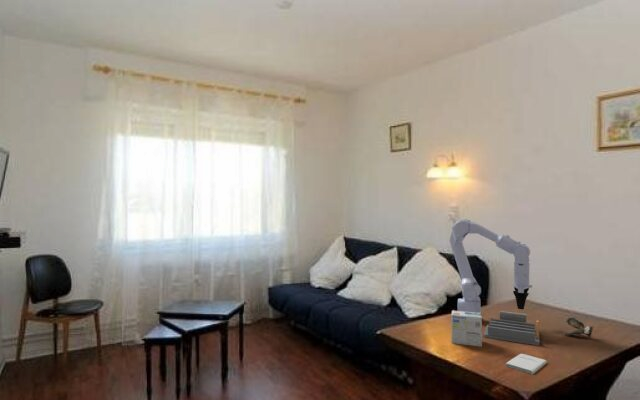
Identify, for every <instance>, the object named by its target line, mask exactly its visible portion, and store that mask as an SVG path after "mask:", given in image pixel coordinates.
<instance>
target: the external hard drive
mask: <svg viewBox="0 0 640 400" xmlns="http://www.w3.org/2000/svg"><path fill="white" fill-rule="evenodd" d="M546 364H547V360H546V359H544V358H539V357H535V356H533V355H529V354H525V353H519V354H517V355H516V356H515V357H513V358H512V359H509V361H507V362H506V363H505V365H504V366H505V367H507V368H511V369H513V370H517V371H521V372H523V373H527V374H530V375H534V374H536V373H537V372H538V371H539V370H540V369H541V368H543V367H545V366H546Z"/></svg>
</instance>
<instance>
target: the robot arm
mask: <svg viewBox="0 0 640 400" xmlns="http://www.w3.org/2000/svg"><path fill="white" fill-rule="evenodd" d="M468 234H478V235H480V236H482V237H484V238H486V239H488V240H490V241H492V242H494V243H495V245H496V247H498V249H500V250H503V251H504V252H507V253H508V254H510V255H513V256H514V262H513V284H512V285H513V289H514V290H513V291H512V293H513V295H514V296H515V301H516V307H517V310H524V309H525V305H526V301H527V298H528V296H529V295H530V293H529V292H528V291H529V290H530V288H531V289H532V288H533V285H532V284H530V254H531V249H530V247H529V246H528V245H527V244H524V243H521V241H517V240H514V239H512V237H511V236H510V235H508V234H506V235H505V234H501V235H500V234H499V235H498V234H497V233H495V232H494V231H491V230H490V229H488V228H486V227H484V226H483V225H481V224H479V223H477V222H475V221H471V220H469V219H468V218H466V219H459V220H457V221H456V222H455V223H454V224H453V226H452V227H451V232H450V237H449V243H450V247H451V250H452V253H453V256H454V259H455V262H456V266H457V269H458V272H459V275H460V278H461V287H462V289H461V291H462V292H461V296H462V298H458V299H457V310H456V311H463V312H475V313H481V298H480V295H481V294H482V287H481V286H480V284H479V283H478V282H477V280H476V278H475V277H474V274H473V272H472V268H471V265H470V262H469V259H468V257H467V253H466V250H465V247H464V246H465V245H464V244H463V241H464V239H465V238H466V236H467V235H468Z"/></svg>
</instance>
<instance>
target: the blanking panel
mask: <svg viewBox="0 0 640 400" xmlns="http://www.w3.org/2000/svg"><path fill="white" fill-rule="evenodd" d="M499 319H501V320H509V321H516V322H524V323H527V314H526V313H520V312H511V311H506V310H505V311H504V310H499Z"/></svg>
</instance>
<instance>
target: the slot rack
mask: <svg viewBox="0 0 640 400" xmlns="http://www.w3.org/2000/svg"><path fill="white" fill-rule="evenodd" d="M535 322H536V323H533V322H532V323H530V322H526V323H524V322H516V321H509V320H501V319H500V318H493V317H490V320H489V323H488V324H486V327H485V329H484V332H483V333H482V338H486V339H487V338H488V339H494V340H500V341H508V342H513V343H518V344H525V345H534V346H540V329H539V328H540V321H539V319H536V321H535Z"/></svg>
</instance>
